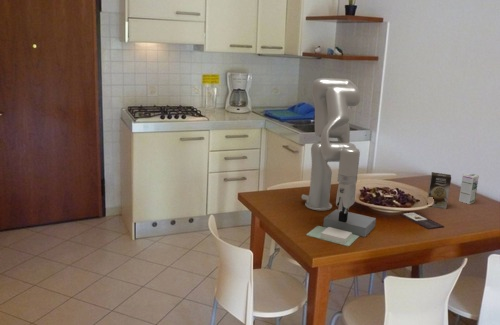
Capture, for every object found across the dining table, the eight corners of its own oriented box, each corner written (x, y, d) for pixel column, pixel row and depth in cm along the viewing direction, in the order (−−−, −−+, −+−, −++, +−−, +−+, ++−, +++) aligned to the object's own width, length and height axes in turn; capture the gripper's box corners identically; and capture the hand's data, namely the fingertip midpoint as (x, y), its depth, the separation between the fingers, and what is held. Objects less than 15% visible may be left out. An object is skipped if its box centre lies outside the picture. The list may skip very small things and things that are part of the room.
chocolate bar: (428, 228, 207) (400, 214, 223) (427, 230, 208) (400, 216, 224) (444, 226, 211) (415, 212, 227) (443, 228, 211) (415, 214, 227)
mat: (306, 235, 194) (306, 234, 194) (317, 226, 204) (317, 225, 204) (348, 246, 185) (348, 245, 185) (359, 236, 196) (359, 235, 195)
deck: (323, 226, 204) (324, 218, 203) (335, 217, 216) (336, 209, 215) (364, 237, 195) (365, 228, 194) (374, 226, 207) (376, 218, 206)
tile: (328, 226, 198) (328, 231, 199) (321, 232, 191) (320, 237, 192) (352, 232, 193) (351, 237, 194) (345, 238, 186) (344, 243, 187)
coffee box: (426, 206, 238) (431, 174, 234) (426, 202, 244) (431, 171, 240) (446, 209, 235) (451, 177, 231) (445, 205, 241) (450, 174, 237)
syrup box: (469, 204, 244) (474, 177, 240) (458, 201, 248) (462, 174, 245) (474, 202, 247) (479, 175, 244) (463, 199, 252) (468, 172, 248)
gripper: (349, 184, 184) (344, 229, 189) (362, 175, 197) (357, 218, 202) (331, 180, 188) (327, 224, 193) (344, 172, 200) (340, 214, 205)
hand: (342, 221), depth 197 cm, fingers closed
